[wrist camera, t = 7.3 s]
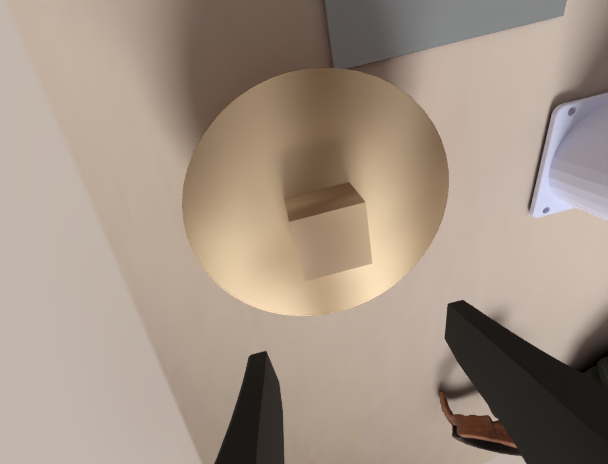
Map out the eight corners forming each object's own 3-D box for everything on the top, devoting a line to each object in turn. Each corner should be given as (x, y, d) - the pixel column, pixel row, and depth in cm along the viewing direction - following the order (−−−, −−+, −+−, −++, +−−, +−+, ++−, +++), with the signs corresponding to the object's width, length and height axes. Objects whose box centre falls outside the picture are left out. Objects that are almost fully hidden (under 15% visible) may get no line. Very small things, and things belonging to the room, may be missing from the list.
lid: (444, 33, 11) (502, 23, 9) (435, 275, 18) (467, 310, 15) (131, 111, 11) (94, 124, 8) (237, 328, 17) (234, 373, 15)
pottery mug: (518, 380, 36) (535, 464, 31) (434, 367, 39) (437, 440, 34) (553, 344, 27) (585, 452, 22) (442, 331, 30) (448, 422, 25)
